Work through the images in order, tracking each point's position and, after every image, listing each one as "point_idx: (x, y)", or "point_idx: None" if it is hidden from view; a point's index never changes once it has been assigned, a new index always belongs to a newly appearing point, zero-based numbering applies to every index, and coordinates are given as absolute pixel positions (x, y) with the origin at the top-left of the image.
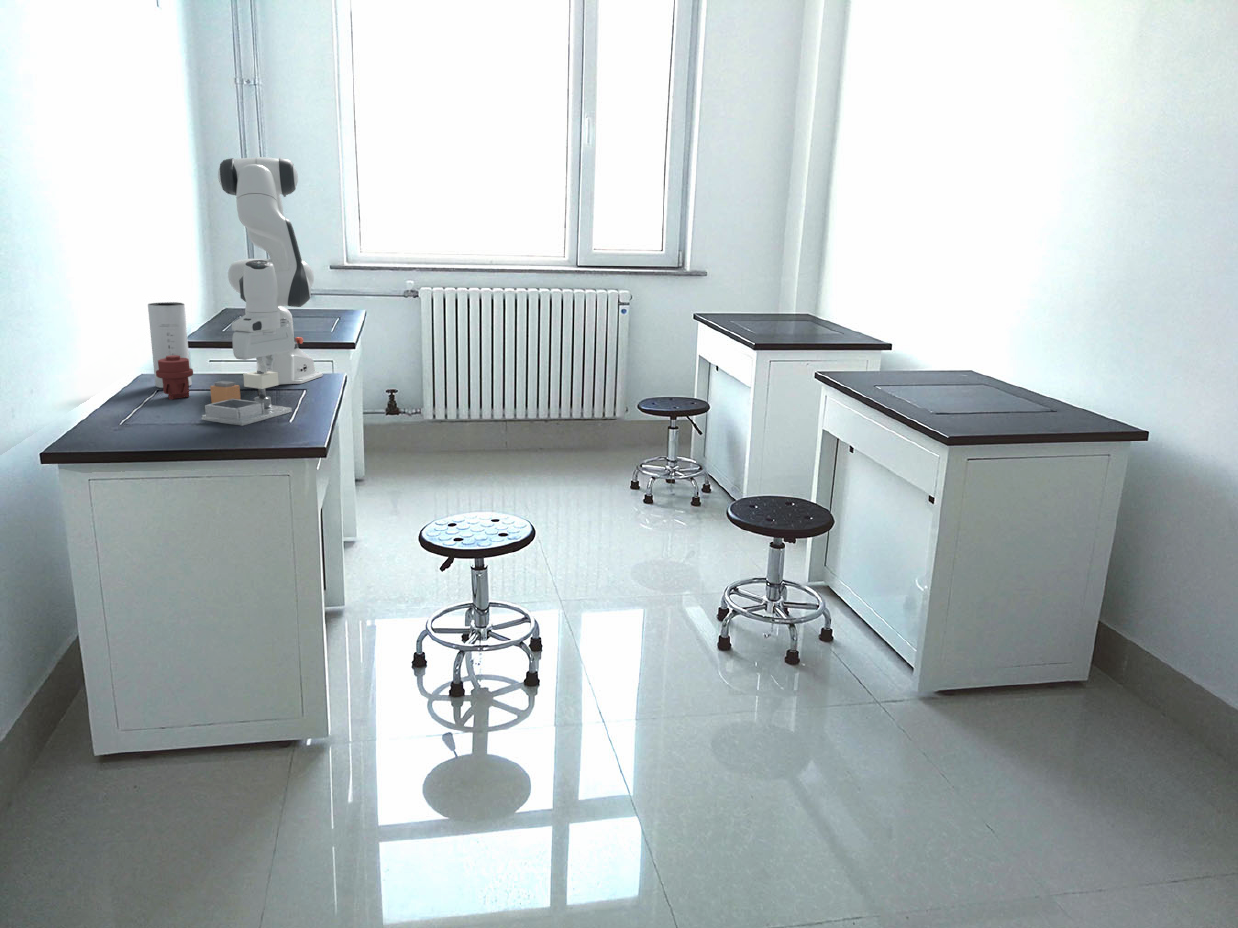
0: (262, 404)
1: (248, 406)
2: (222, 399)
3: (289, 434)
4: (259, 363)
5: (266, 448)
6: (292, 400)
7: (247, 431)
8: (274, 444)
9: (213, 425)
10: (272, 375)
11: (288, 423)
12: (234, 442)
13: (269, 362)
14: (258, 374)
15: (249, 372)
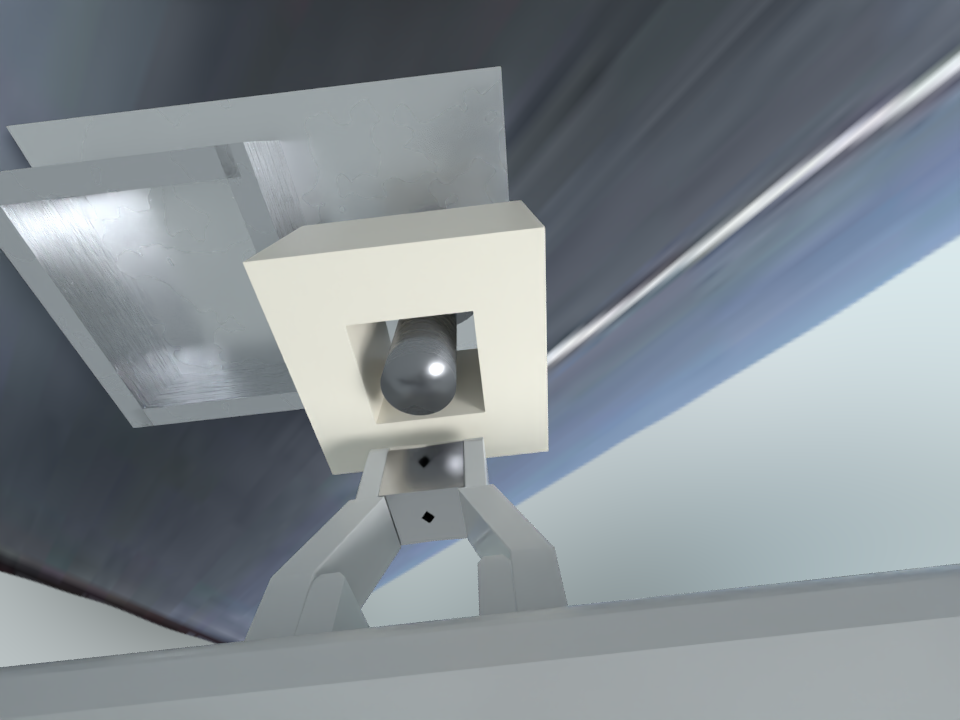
0: None
1: (222, 416)
2: None
3: (280, 566)
4: (327, 536)
5: (150, 612)
6: (772, 139)
7: (179, 471)
8: (187, 602)
9: None
10: None
11: None
12: (82, 536)
13: (476, 539)
14: (356, 411)
15: (354, 249)
